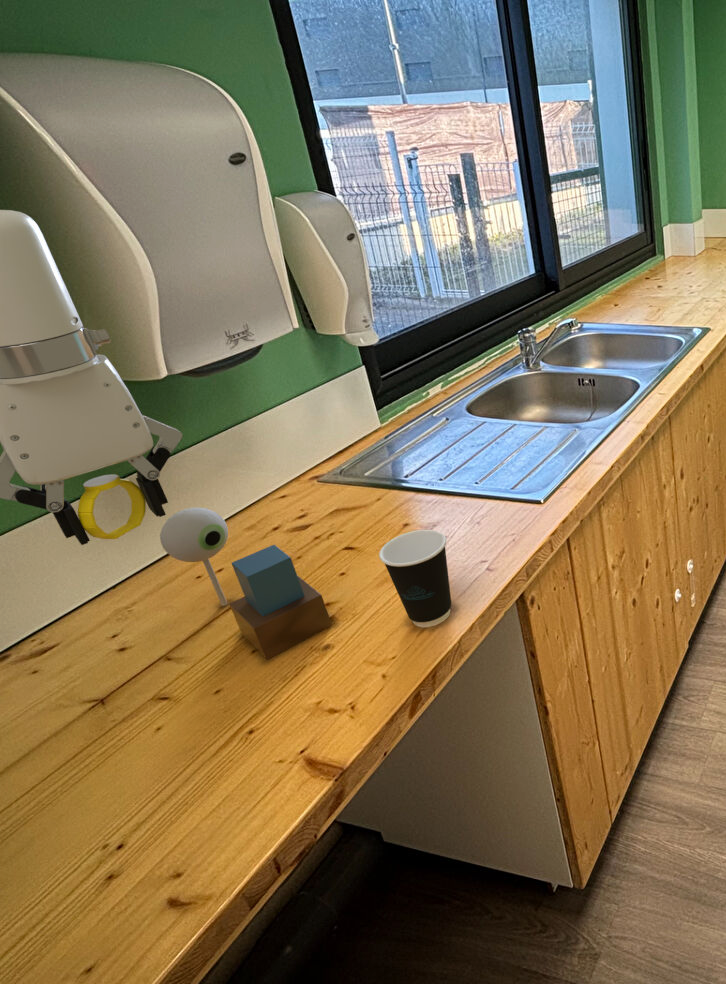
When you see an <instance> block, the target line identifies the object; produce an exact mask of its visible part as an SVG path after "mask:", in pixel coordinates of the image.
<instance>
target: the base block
mask: <svg viewBox="0 0 726 984" xmlns="http://www.w3.org/2000/svg"><path fill="white" fill-rule="evenodd" d="M297 576H298V579H299V582H300V585H301V587H302V590H303V593H304V597H302V598H300V599H298V600H296V601H294V602H292V603H290V604H288V605H286V606H284V607H282V608H280V609H277V610H275V611H273V612H271V613H269V614H267V615H265V616H262V615H261V614H259V613H258V612H257V611H256V610H255V609H254V608H253V607H252V606H251V605H250V604H249V603H248V602H247V600H246V598H245V596H242V597H240V598H238V599H235V600H234V601H232V602H229V603H228V605H229V607H230V610H231V612H232V615H233V617H234V619H235V621H236V624H237V627H238V628H239V631H240V633H241V636H243V637H244V638H245V639H246V641H248V642H249V644H251V645H252V646H253V648H254V649H255V650H257V652H258V653H260V655H261V656H262V657H263V658H264V659H265V660H267V661H268V660H270V659H271V658H273V657H275V656H277V655H279V654H281V653H283V652H285V651H286V650H288V649H290V648H292V647H294V646H296V645H298V644H299V643H302V642H304V641H306V640H307V639H310V638H311V637H313V636H315V635H317V634H319V633H321V632H323V631H324V630H326V629H328V628H330V627H332V625H333V624H332V621H331V618H330V615H329V613H328V612H329V611H328V610H327V607H326V604H325V601H324V598H323V595H322V594H321V593H320V592H319V591H318V590H316V589H315V588H314V587H312V586H311V585H310V584H309V583H307V582H306V581H305V580H304V579H302V578H301V576H299V575H297Z"/></svg>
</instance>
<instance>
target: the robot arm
mask: <svg viewBox="0 0 726 984" xmlns="http://www.w3.org/2000/svg"><path fill="white" fill-rule="evenodd" d="M50 250H51V249H50V247H49V246H48V243H47V241H46V239H45V236H44V234H43V233H42V231H41V228H40V227H39V225H38V223H37V222H36V221H35V220H34V219H33V218H32V217H31V216H29V215H28V214H26V213H24V212H22V211H17V210H12V209H0V446H1V447H2V448H1V449H3V451H2V453H1V455H0V499H2V500H6V501H14V502H17V503H20V504H23V505H27V506H31V507H34V508H39V509H43V510H47V511H48V512H49V513H52V515H53V517H54V518H55V520H56V523H57V524H58V525H59V528H60V530H61V532H62V534H63V535H64V536H65V539H69V538H72V537H75V538H76V539H77V541H78V542H79V544H80V545H81V546H83V545H86V544H89V542H90V541H91V539H90V538H89V536H88V533H87V531H85V530H84V528H83V526H82V524H81V522H80V520H79V517H78V513H77V512H76V510H75V508H74V507H73V505H72V504H71V503H70V501H69V500H66V499H65V480H68V479H72V478H74V477H77V476H81V475H84V474H87V473H90V472H93V471H94V472H95V471H97V470H100V469H104V468H107V467H110V466H113V465H116V464H120V463H123V462H126V461H127V462H128V463H129V464H130V465H131V466H132V467H133V468H135V469H136V477H135V481H136V483H137V486H138V487H139V488H140V489H141V491H142V493H143V495H144V497H145V501H146V506H147V507H148V509H149V510H150V511H151V513H153V514H154V515H155V516H156V518H158V517H159V518H161V517H164V516H167V515H166V511H165V509H164V505H165V504H168V503H169V502H168V501H169V500H168V498H167V496H166V494H165V492H164V489H163V487H162V485H161V482H160V480H159V479H160V477H161V472H162V470H163V468H164V467H165V465H166V464H167V462H168V460H169V458H170V457H171V453H172V452H173V451H174V450H175V449H176V447H177V446H178V444H179V443H180V441H181V440H182V439H183V433H182V432H181V431H180V430H179V429H177V428H175V427H172V426H171V425H167V424H165V423H162V422H161V421H158V420H155V419H153V418H151V417H149V416H146V415H144V414H142V413H141V410H140V409H139V407H138V405H137V402H136V401H135V399H134V397H133V396H132V394H131V393H130V390H129V389H128V387H127V385H126V384H125V383H124V381H123V379H122V378H121V375H120V374H119V373H118V370H116V368H115V367H114V365H113V364H112V362H111V361H110V360H109V358H107V356H106V355H105V354H100V353H98V352H97V350H99V347H102V346H103V345H105V344H110V343H112V340H111V337H110V335H109V333H108V331H107V329H105V328H102V329H89V328H88V327H85V326H84V324H83V322H82V320H81V317H80V315H79V313H78V311H77V309H76V306H75V304H74V302H73V300H72V297H71V296H70V295H71V294H70V293H69V291H68V288H67V286H66V283H65V281H64V280H63V277H62V274H61V273H60V270H59V268H58V266H57V264H56V262H55V259H54V257H53V255H52V253H51V251H50ZM152 435H154V436H158V437H159V438H158V440H157V443H156V445H154V439H153V436H152ZM146 453H148V454H147V456H146V457H145V456H143V455H145V454H146ZM16 473H17V474H18V475H19V476H20V478H21V479H22V480H23V482H24V483H26V484H29V485H34V486H36V485H37V486H40V489H37V488H33V487H30V486H25V485H17V484H14V483H11V480H12V479H13V477H14V475H15V474H16Z"/></svg>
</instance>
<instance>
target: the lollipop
mask: <svg viewBox="0 0 726 984" xmlns="http://www.w3.org/2000/svg"><path fill="white" fill-rule="evenodd" d="M228 538H229V528H228V525H227V522H226V521H225V519H224V518H223V517H222V516H221V515H220V514H219V513H217V512H216V511H213V510H212V509H209V508H206V507H190V508H189V507H188V508H185V509H182V510H180V511H179V510H178V511H177V512H175V513H174V514H172V515H171V516H169V518H168V519H167V520H166V521H165V522H164V524H163V526H162V527H161V530H160V534H159V539H160V543H161V547H162V549H163V550H164V551H165V553H166V554H168V555H169V556H171V558H174V559H176V560H178V561H181V562H185V563H198V562H199V563H200V562H202V563H203V565H204V567H205V569H206V572H207V574H208V576H209V579H210V580H211V584H212V586H213V588H214V590H215V593H216V595H217V598H218V599H219V602H220V605H221V607H225V606H227V605H228V601H227V598H226V597H225V594H224V591H223V589H222V587H221V584H220V582H219V579H218V578H217V575H216V573H215V570H214V569H213V565H212V563H211V561H210V559H211V558H213V557H214V556H216V555H217V554H219V553H220V552H221V551H222V550H223V548H224V547H225V546H226V544H227V541H228Z"/></svg>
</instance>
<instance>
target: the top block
mask: <svg viewBox="0 0 726 984" xmlns="http://www.w3.org/2000/svg"><path fill="white" fill-rule="evenodd" d="M231 566H232V569H233V571H234V573H235V575H236V578H237V581H238V583H239V586H240V589H241V590H242V594H243V595H244V597H245V598H246V600H247V602H248V603H249V604H250V605H251V606H252V607H253V608H254V609H255V610H256V611H257V612H258V613H259V614H261V615H262V616H265V615H267V614H269V613H271V612H273V611H275V610H277V609H280V608H282V607H284V606H286V605H288V604H290V603H292V602H294V601H296V600H298V599H300V598H302V597H304V593H303V590H302V587H301V585H300V582H299V579H298V576H299V575H298V574H297V571H296V568H295V565H294V563H293V560H292V557H291V556H290V555H288V554H287V553H286V552H285V551H283V550H282V549H280V547H278V546H277V545H276V544H272V545H269V546H267V547H264V548H263V549H260V550H258V551H256V552H253V553H251V554H248V555H245V556H244V557H242V558H239V559H237V560H235V561H232V562H231Z"/></svg>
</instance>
